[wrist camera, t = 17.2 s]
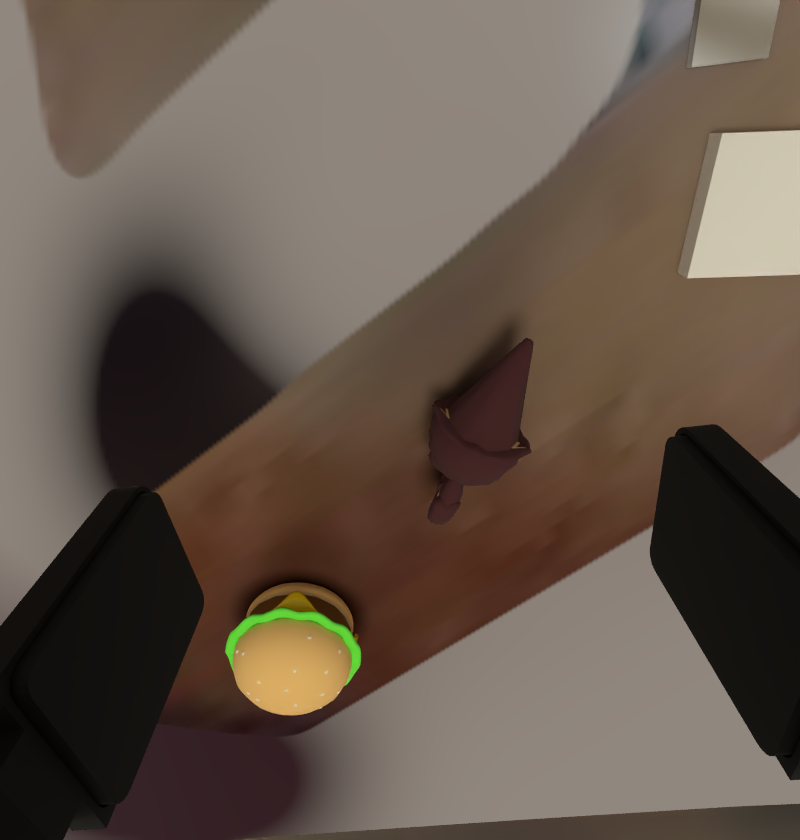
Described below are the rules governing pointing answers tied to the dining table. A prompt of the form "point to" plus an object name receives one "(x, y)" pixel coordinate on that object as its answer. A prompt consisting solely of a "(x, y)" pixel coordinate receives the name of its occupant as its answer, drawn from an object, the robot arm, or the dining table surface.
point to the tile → (746, 207)
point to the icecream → (479, 432)
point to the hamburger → (294, 649)
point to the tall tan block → (731, 31)
